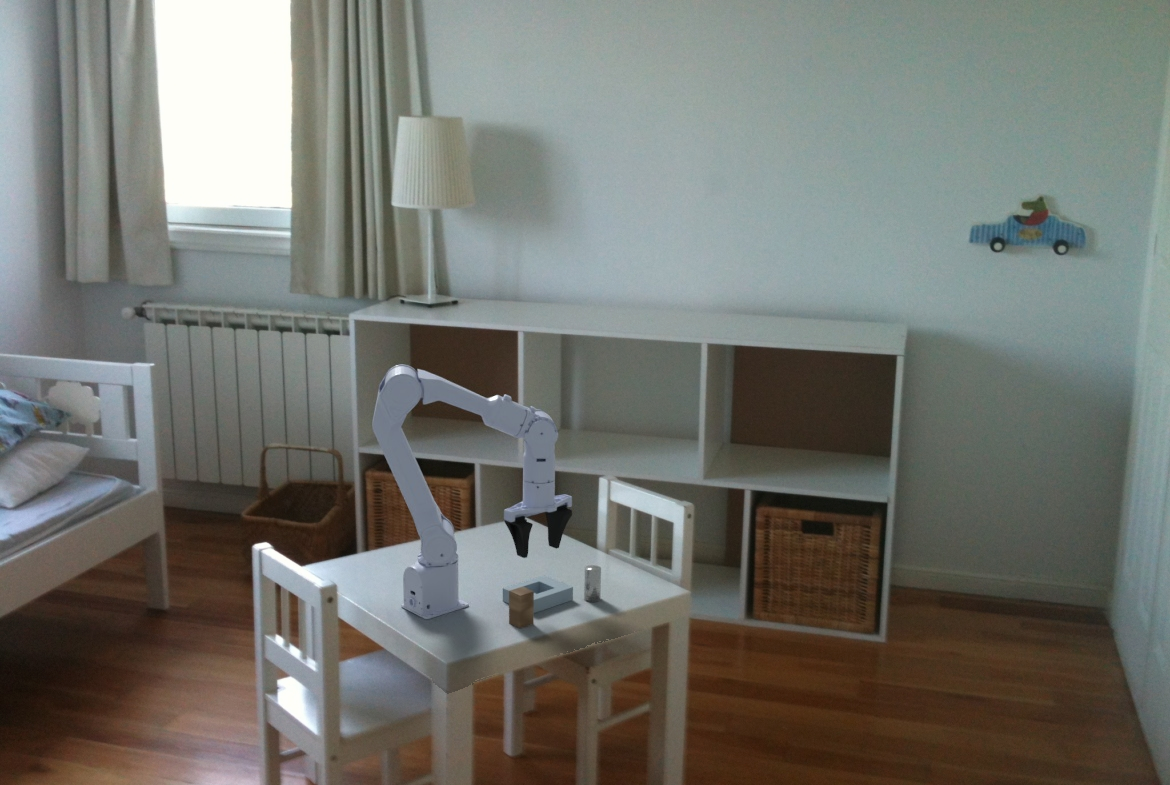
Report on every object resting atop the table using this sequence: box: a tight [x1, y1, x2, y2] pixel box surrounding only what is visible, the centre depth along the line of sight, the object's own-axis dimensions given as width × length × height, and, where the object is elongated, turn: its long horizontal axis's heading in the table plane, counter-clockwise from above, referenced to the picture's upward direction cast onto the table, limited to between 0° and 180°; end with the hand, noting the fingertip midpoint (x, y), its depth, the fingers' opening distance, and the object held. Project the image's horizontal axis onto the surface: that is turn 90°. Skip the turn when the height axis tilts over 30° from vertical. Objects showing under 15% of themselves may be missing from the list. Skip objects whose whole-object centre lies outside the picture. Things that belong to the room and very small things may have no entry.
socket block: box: [502, 574, 574, 614], centre depth 207 cm, size 10×8×2 cm
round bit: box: [583, 564, 602, 603], centre depth 208 cm, size 3×3×6 cm
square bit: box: [508, 587, 535, 629], centre depth 196 cm, size 3×3×6 cm
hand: (538, 551), depth 205 cm, fingers open, 7 cm apart
